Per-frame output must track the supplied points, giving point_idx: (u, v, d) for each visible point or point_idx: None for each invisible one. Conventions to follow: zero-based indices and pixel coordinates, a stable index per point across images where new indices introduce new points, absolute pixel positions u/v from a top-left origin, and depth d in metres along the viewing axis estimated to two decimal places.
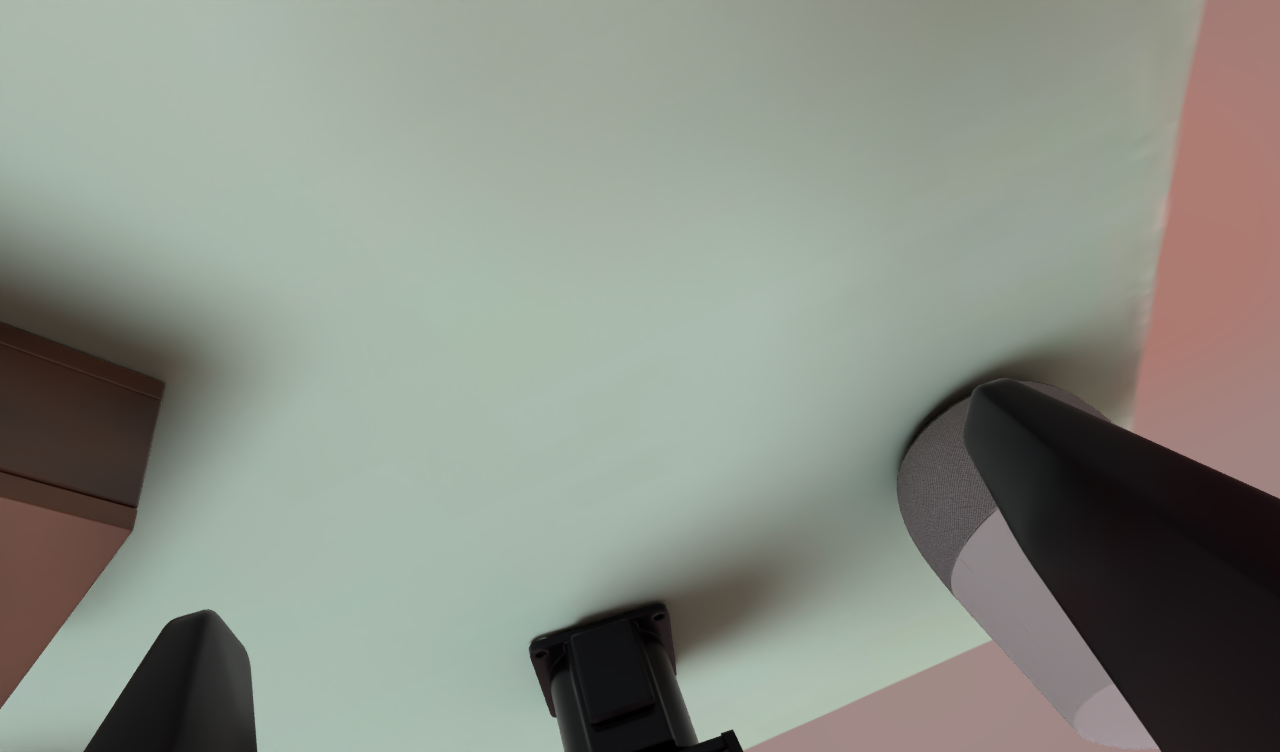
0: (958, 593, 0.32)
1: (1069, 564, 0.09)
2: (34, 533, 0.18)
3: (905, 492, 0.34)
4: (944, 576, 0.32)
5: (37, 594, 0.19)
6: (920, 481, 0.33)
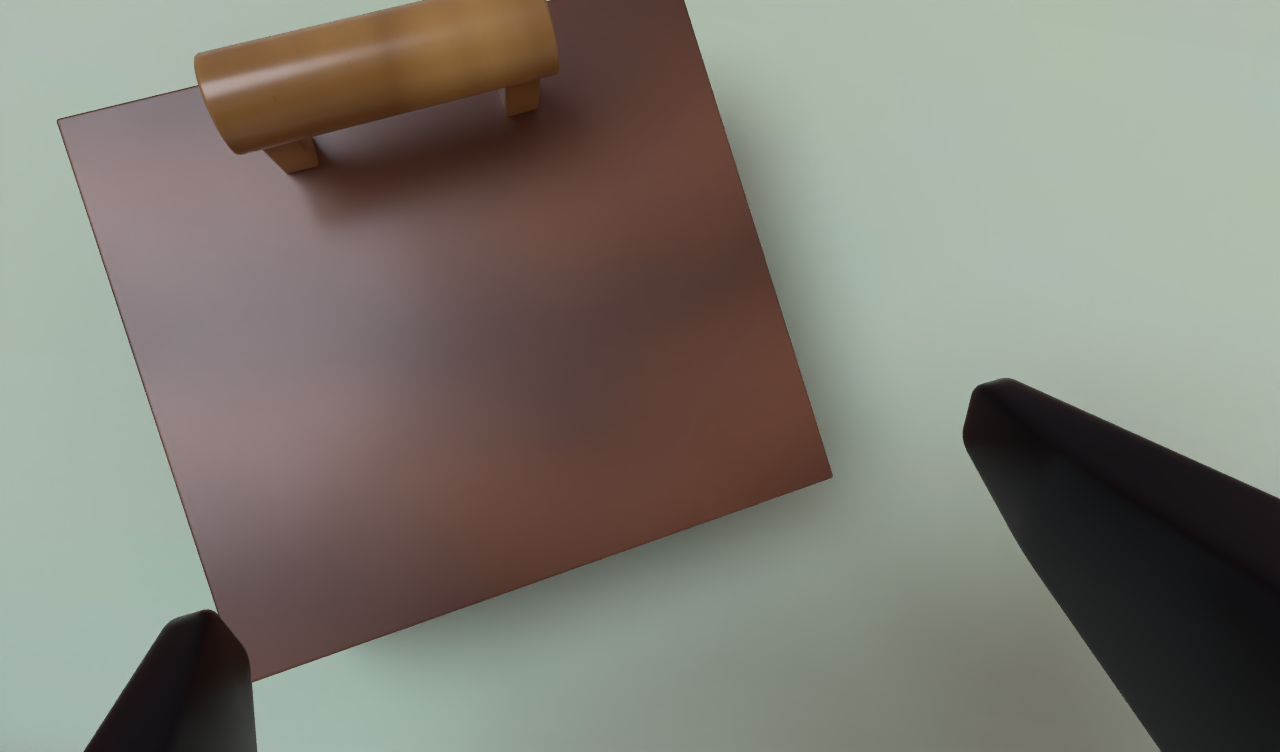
0: None
1: (1069, 563, 0.09)
2: (773, 414, 0.17)
3: None
4: None
5: (698, 479, 0.17)
6: None
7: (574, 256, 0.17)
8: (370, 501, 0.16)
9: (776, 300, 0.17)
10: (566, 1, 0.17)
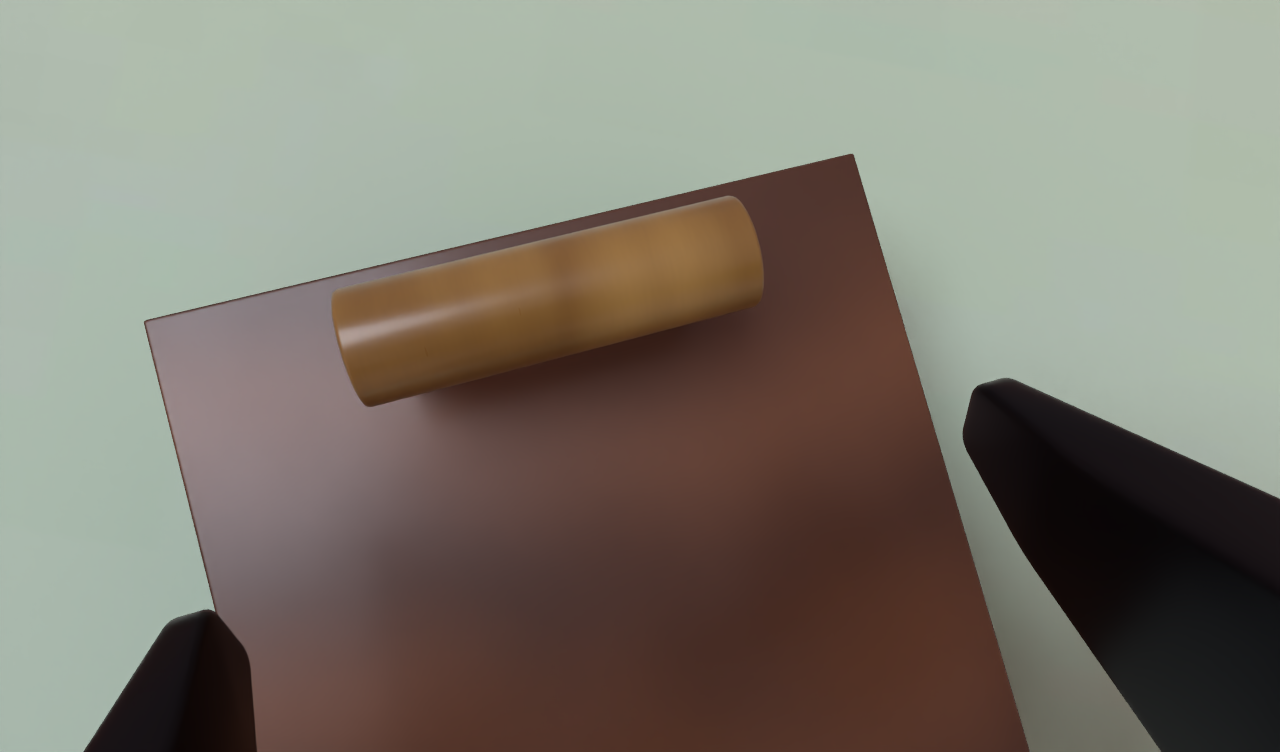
0: None
1: (1069, 564, 0.09)
2: (961, 679, 0.14)
3: None
4: None
5: None
6: None
7: (733, 486, 0.14)
8: None
9: (965, 540, 0.15)
10: (730, 187, 0.15)
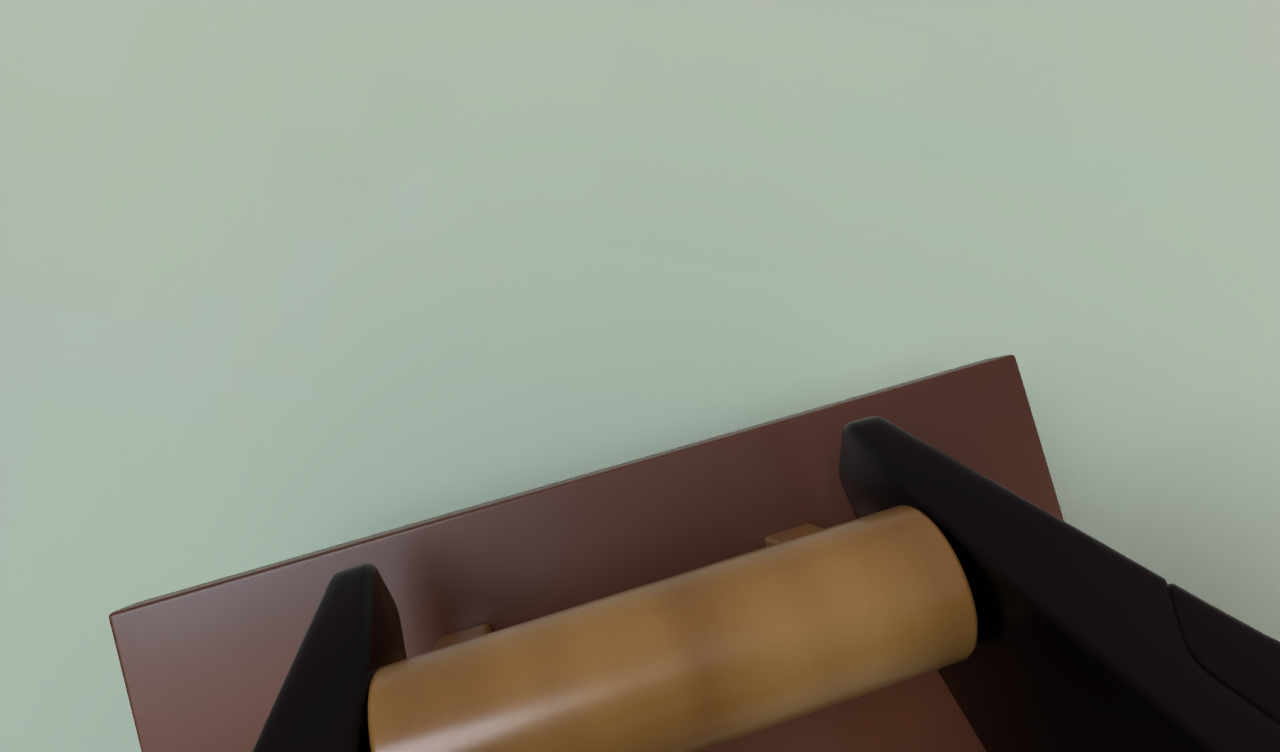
0: None
1: None
2: None
3: None
4: None
5: None
6: None
7: None
8: None
9: None
10: (863, 405, 0.12)
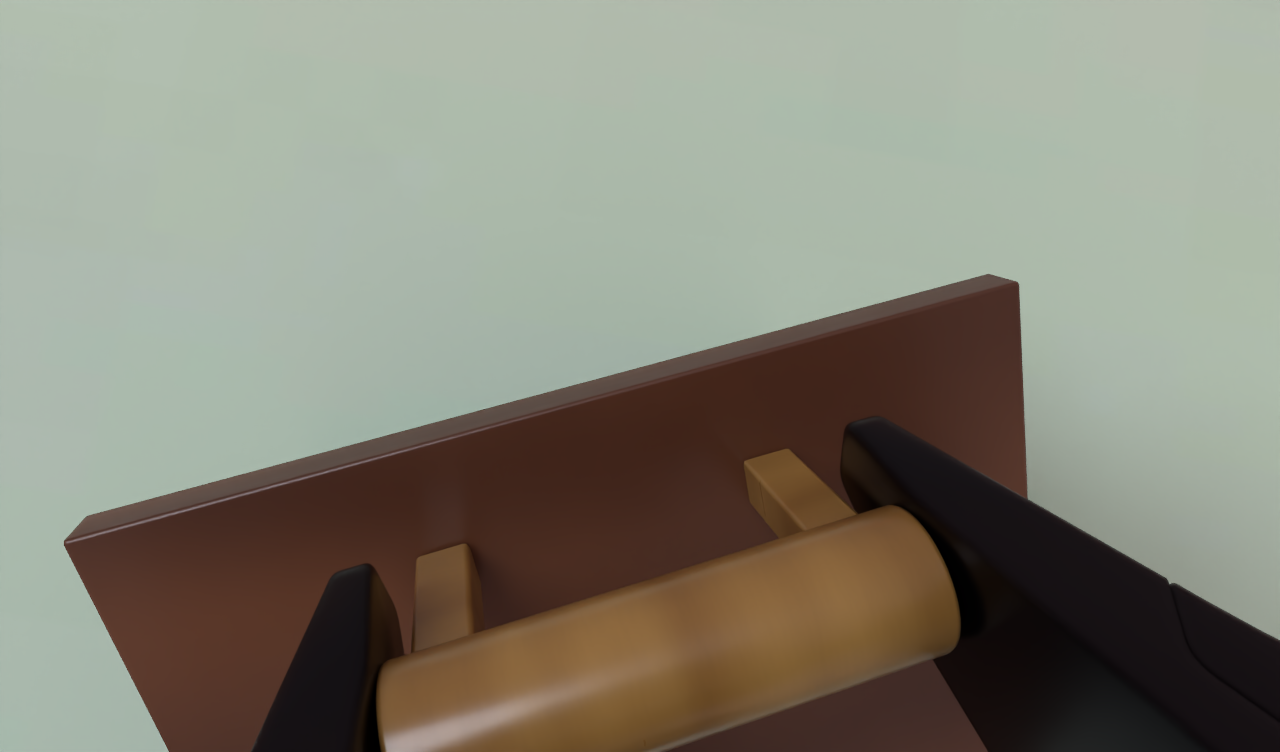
0: None
1: None
2: None
3: None
4: None
5: None
6: None
7: None
8: None
9: None
10: (859, 331, 0.11)
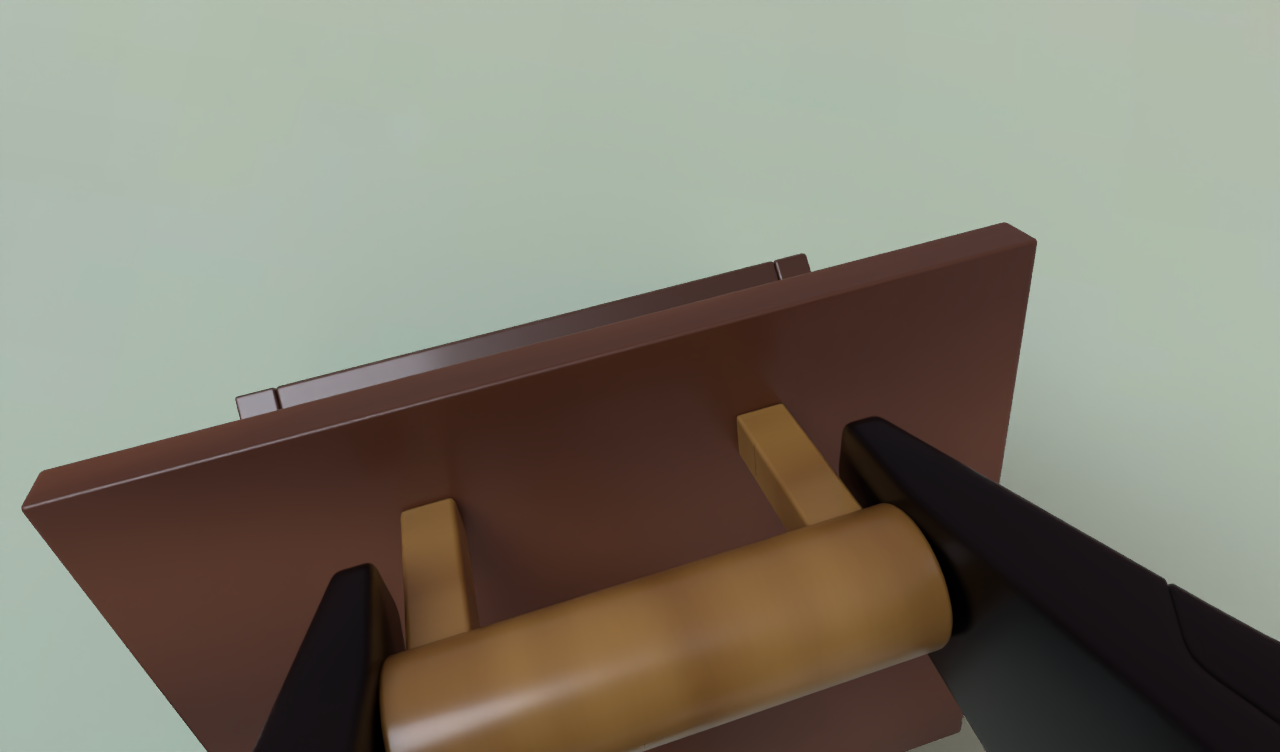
0: None
1: None
2: (929, 696, 0.16)
3: None
4: None
5: None
6: None
7: None
8: None
9: None
10: (868, 290, 0.10)
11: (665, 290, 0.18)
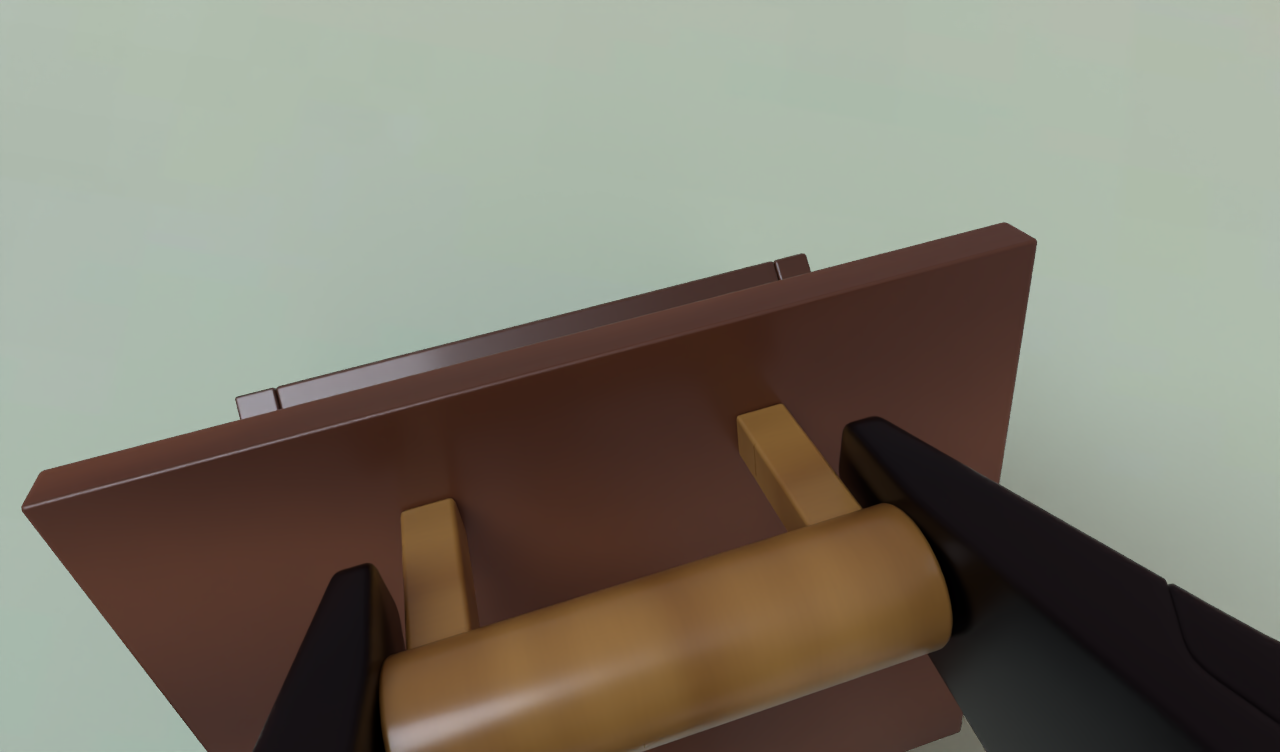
0: None
1: None
2: (929, 696, 0.16)
3: None
4: None
5: None
6: None
7: None
8: None
9: None
10: (868, 290, 0.10)
11: (665, 290, 0.18)
